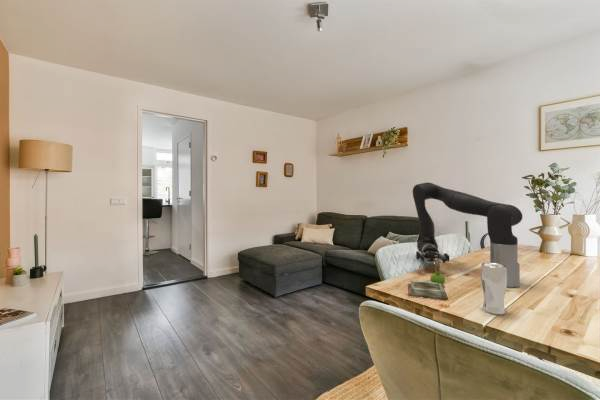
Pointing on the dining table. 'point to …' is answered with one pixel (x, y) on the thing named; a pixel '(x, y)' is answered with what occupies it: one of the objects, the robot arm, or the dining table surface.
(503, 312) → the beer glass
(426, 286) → the grey shallow tray
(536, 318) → the dining table surface
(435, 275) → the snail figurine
